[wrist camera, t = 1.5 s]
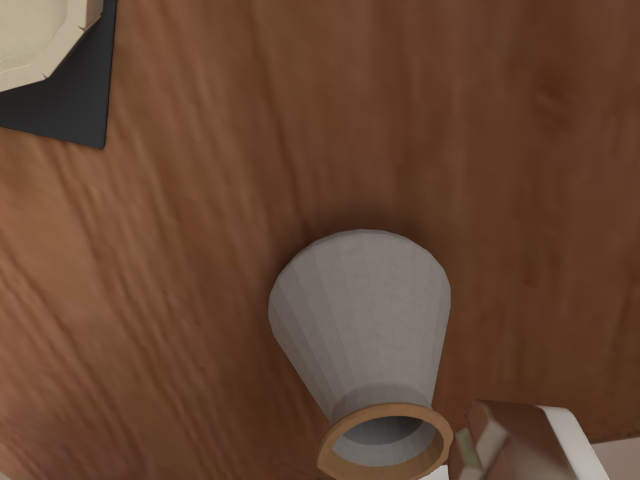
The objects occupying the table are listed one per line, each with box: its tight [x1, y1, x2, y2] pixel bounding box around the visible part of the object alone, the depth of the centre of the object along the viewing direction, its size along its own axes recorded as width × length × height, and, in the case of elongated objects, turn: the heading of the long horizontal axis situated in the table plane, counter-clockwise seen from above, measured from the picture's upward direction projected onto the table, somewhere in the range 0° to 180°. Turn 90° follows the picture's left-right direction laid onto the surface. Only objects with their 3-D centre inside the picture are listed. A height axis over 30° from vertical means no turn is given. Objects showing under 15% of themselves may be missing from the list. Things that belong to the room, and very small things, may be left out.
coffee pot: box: [268, 229, 453, 480], centre depth 33 cm, size 21×12×15 cm, turn 16°
